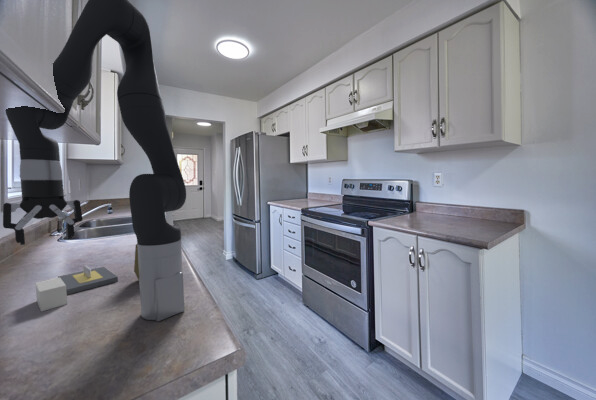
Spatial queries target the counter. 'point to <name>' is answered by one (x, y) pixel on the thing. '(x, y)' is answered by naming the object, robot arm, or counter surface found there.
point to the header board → (88, 279)
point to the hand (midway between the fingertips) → (47, 241)
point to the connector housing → (51, 293)
